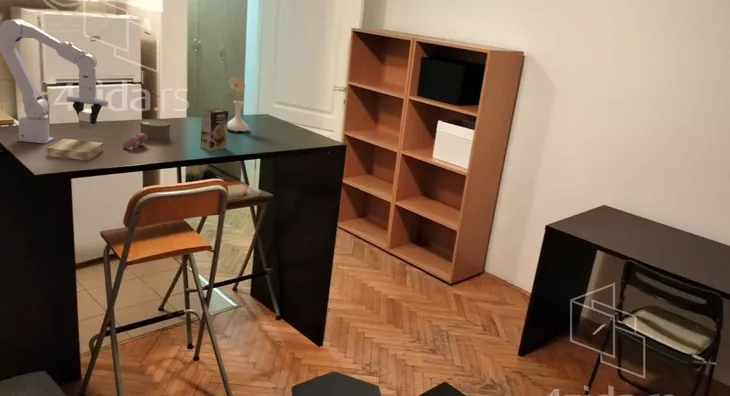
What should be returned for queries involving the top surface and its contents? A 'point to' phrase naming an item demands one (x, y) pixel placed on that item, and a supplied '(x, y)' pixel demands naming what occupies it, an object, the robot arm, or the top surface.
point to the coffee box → (214, 129)
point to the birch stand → (75, 149)
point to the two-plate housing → (86, 119)
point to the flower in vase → (237, 107)
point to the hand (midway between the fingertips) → (87, 122)
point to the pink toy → (135, 141)
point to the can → (155, 129)
